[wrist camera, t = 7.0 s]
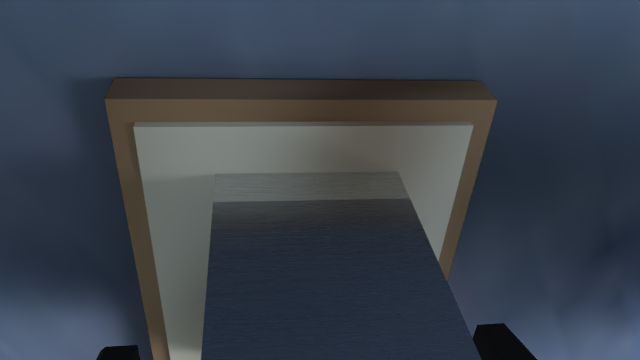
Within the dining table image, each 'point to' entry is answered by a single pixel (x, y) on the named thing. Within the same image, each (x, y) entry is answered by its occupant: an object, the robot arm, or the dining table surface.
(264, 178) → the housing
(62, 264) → the dining table surface
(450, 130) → the wooden picture frame
